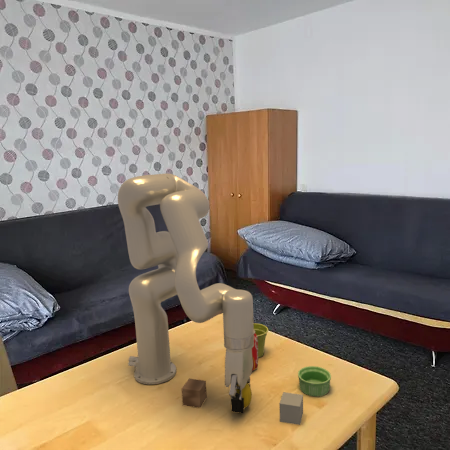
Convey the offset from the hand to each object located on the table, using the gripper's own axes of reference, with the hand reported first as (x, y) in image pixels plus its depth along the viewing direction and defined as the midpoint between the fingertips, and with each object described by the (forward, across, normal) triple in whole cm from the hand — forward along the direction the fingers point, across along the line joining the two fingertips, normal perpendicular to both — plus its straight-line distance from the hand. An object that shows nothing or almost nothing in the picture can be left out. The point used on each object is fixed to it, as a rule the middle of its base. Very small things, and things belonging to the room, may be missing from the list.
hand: (241, 404), depth 109 cm
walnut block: (+1, 0, -13) cm, 13 cm away
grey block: (+1, 0, +13) cm, 13 cm away
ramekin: (+2, -14, +17) cm, 22 cm away
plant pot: (+2, -29, -4) cm, 29 cm away
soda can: (+1, -20, -4) cm, 20 cm away
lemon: (+1, 0, 0) cm, 1 cm away
